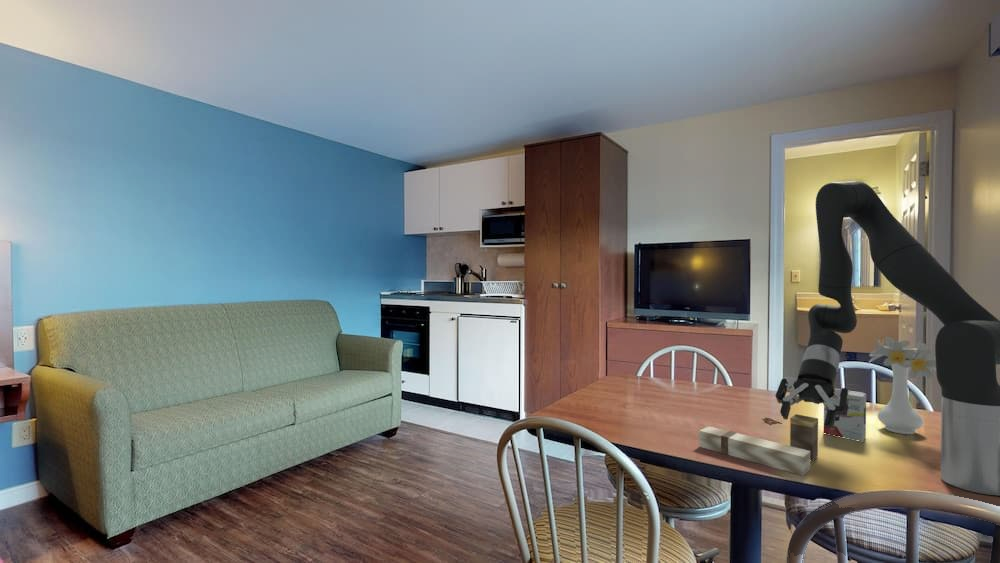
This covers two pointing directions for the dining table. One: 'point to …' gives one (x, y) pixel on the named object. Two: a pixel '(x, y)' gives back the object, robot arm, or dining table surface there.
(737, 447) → the board
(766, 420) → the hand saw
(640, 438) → the dining table surface
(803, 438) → the brown rectangular block
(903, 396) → the flower vase
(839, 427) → the ink box
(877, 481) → the dining table surface
